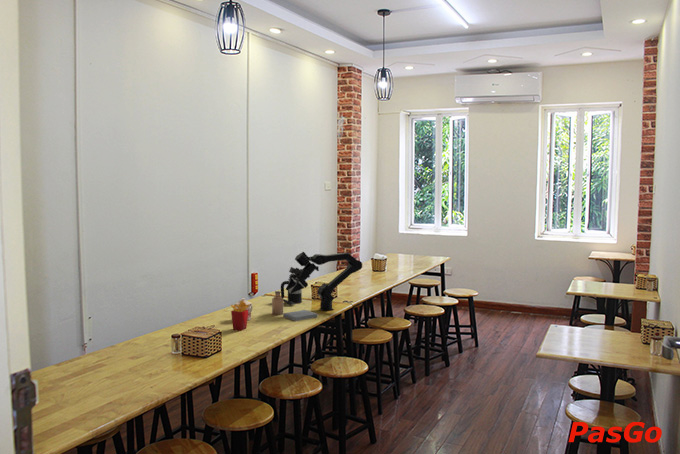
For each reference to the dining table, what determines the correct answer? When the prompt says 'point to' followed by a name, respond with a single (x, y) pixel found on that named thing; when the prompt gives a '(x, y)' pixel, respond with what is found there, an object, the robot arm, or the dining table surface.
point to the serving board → (300, 315)
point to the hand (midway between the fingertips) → (288, 291)
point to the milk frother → (291, 295)
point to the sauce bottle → (277, 304)
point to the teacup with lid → (246, 308)
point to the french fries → (240, 316)
